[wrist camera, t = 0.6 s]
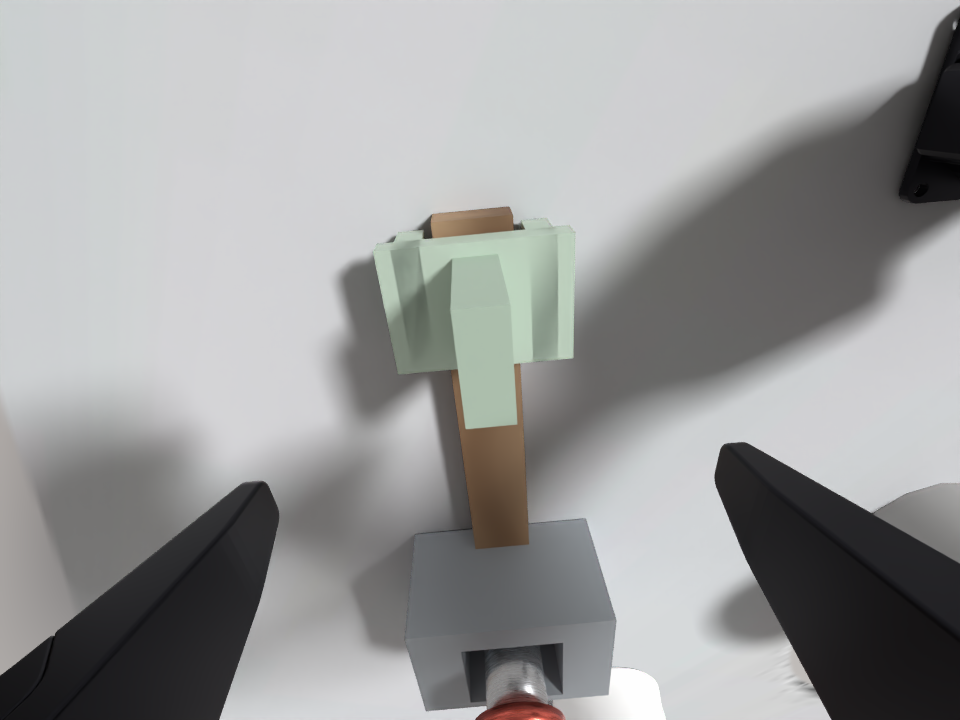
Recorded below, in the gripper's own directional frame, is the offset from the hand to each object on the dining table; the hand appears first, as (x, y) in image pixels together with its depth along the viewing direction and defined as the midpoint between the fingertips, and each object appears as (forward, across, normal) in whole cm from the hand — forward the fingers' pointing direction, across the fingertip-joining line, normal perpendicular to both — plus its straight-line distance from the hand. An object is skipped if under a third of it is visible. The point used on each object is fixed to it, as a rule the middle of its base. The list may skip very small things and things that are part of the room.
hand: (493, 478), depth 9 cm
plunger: (+9, 0, +19) cm, 21 cm away
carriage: (+12, 0, 0) cm, 12 cm away
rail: (+12, 0, +6) cm, 13 cm away
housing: (+12, 0, +19) cm, 22 cm away
